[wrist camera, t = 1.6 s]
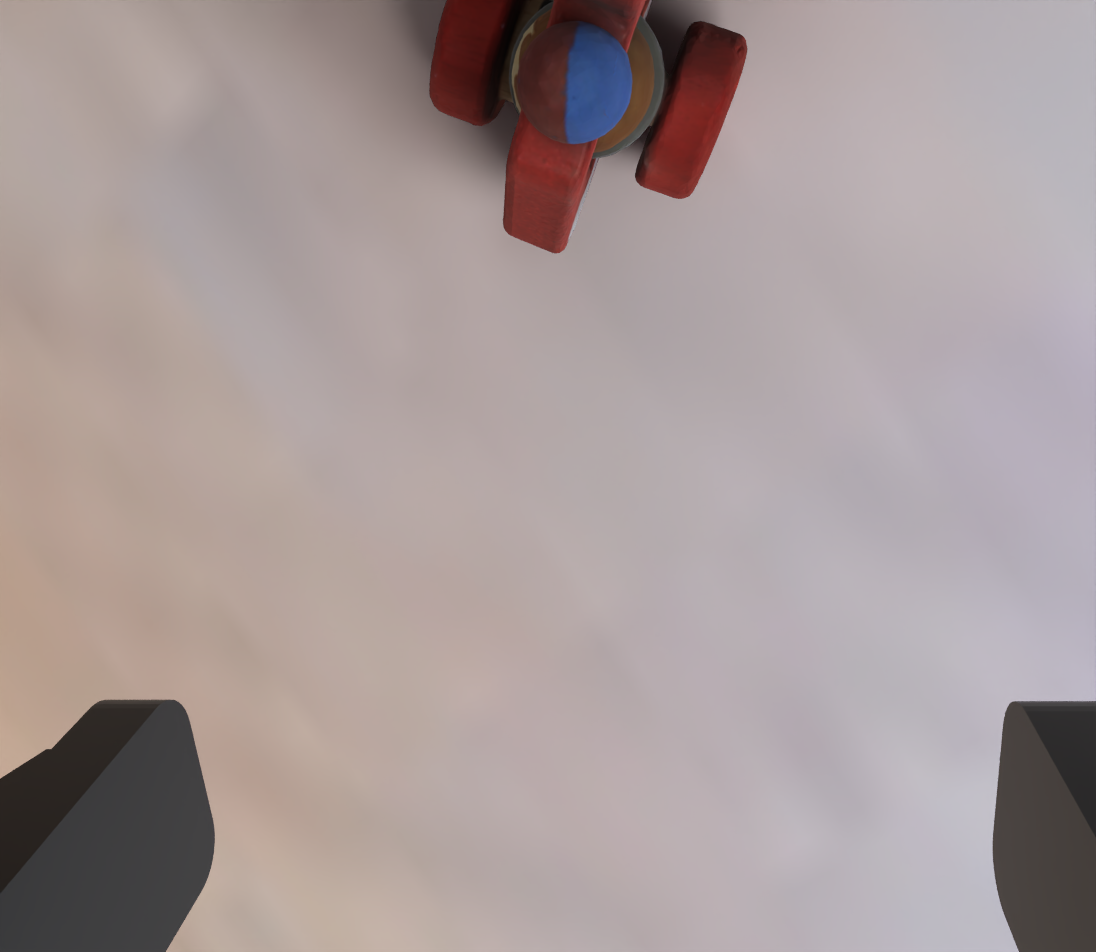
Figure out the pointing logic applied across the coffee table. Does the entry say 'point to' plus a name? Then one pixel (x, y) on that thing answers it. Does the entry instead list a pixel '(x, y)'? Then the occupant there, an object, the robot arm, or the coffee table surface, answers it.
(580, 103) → the toy fire truck
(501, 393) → the coffee table surface
